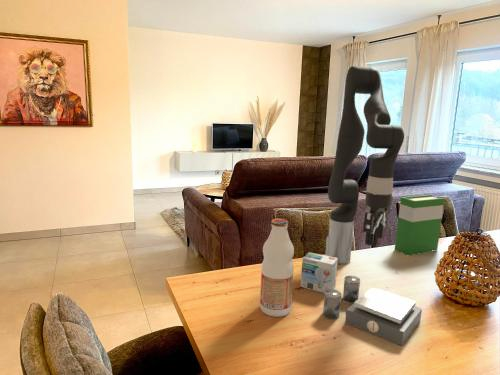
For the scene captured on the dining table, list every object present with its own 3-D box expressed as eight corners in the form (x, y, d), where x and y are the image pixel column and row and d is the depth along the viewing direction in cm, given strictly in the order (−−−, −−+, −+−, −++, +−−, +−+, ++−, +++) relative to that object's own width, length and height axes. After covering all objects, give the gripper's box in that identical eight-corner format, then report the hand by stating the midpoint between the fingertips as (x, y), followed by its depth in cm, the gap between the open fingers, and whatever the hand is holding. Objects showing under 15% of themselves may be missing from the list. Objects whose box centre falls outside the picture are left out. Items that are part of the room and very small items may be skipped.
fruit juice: (270, 320, 107) (275, 227, 101) (254, 305, 115) (257, 218, 109) (297, 313, 112) (303, 223, 106) (279, 298, 120) (284, 214, 114)
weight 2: (340, 299, 121) (342, 278, 119) (346, 293, 125) (348, 274, 123) (354, 304, 118) (356, 283, 116) (360, 298, 122) (362, 278, 120)
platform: (353, 306, 107) (354, 302, 106) (372, 290, 116) (372, 287, 116) (400, 323, 99) (400, 319, 98) (415, 305, 108) (416, 301, 108)
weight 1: (320, 314, 111) (321, 293, 110) (327, 308, 115) (329, 287, 113) (334, 320, 108) (336, 298, 107) (342, 314, 112) (344, 292, 110)
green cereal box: (423, 245, 174) (430, 194, 169) (437, 250, 167) (444, 198, 162) (394, 249, 166) (400, 197, 161) (407, 255, 160) (414, 201, 155)
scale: (344, 323, 107) (345, 309, 106) (367, 301, 120) (369, 289, 119) (401, 346, 97) (403, 331, 96) (420, 320, 110) (422, 307, 109)
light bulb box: (299, 287, 128) (301, 257, 126) (306, 279, 134) (308, 251, 132) (330, 295, 123) (332, 264, 121) (335, 286, 129) (338, 257, 127)
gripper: (375, 185, 122) (370, 233, 125) (358, 192, 111) (353, 244, 114) (399, 189, 118) (393, 238, 121) (383, 196, 107) (377, 250, 110)
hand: (373, 241), depth 118 cm, fingers open, 8 cm apart
